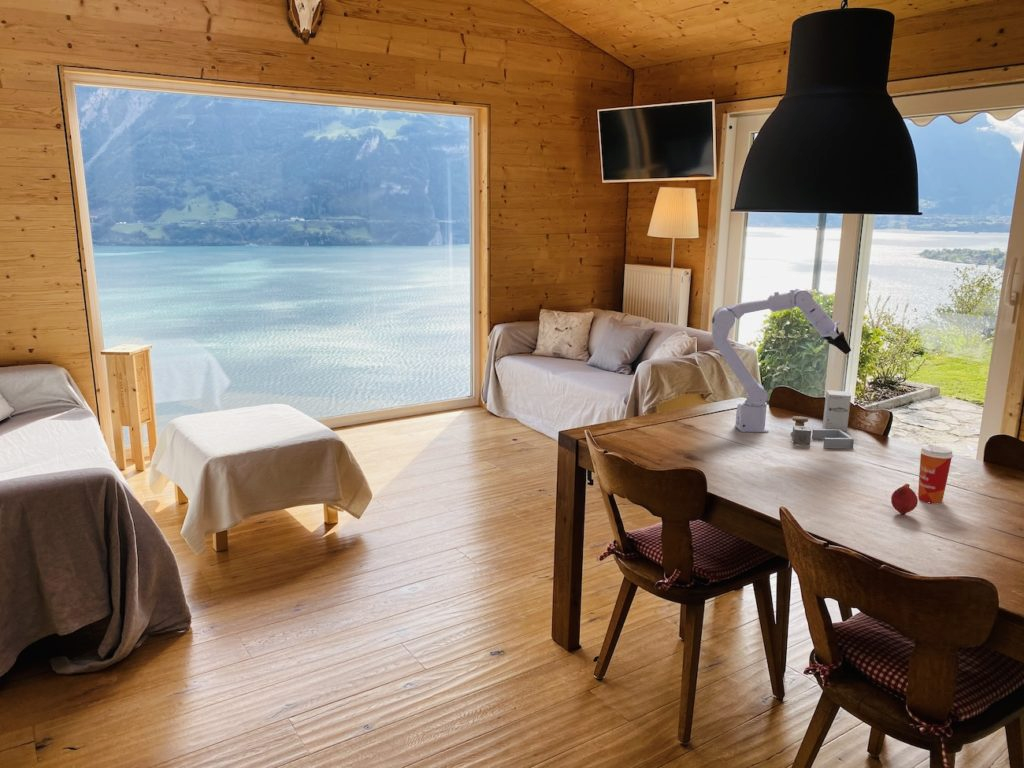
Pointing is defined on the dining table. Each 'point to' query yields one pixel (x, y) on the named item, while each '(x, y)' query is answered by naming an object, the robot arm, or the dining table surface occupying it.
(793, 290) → the robot arm
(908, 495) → the onion
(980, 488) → the dining table surface
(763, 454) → the dining table surface
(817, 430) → the notch block
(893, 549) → the dining table surface
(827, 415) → the supplement box
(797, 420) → the bobbin
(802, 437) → the dice cube
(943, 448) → the paper cup
